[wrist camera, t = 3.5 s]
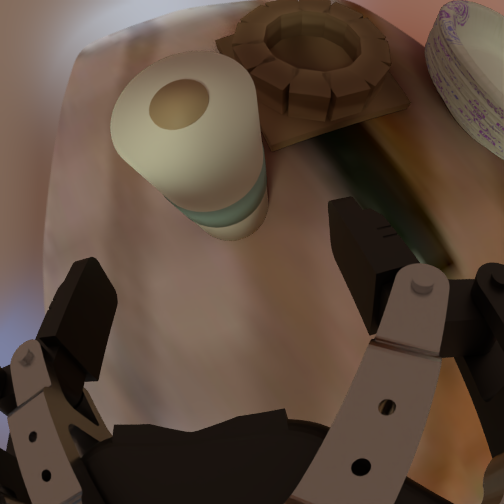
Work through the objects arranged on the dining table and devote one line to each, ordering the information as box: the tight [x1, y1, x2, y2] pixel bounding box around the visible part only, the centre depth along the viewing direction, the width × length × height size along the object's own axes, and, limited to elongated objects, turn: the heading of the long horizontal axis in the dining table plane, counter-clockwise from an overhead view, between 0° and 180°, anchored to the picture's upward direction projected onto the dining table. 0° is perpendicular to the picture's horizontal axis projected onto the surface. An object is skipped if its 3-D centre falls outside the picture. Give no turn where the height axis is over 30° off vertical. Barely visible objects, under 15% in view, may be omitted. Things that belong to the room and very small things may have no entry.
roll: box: [110, 51, 268, 241], centre depth 15 cm, size 5×5×12 cm
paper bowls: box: [425, 0, 504, 160], centre depth 17 cm, size 15×15×8 cm
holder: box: [215, 0, 411, 152], centre depth 20 cm, size 12×12×4 cm
